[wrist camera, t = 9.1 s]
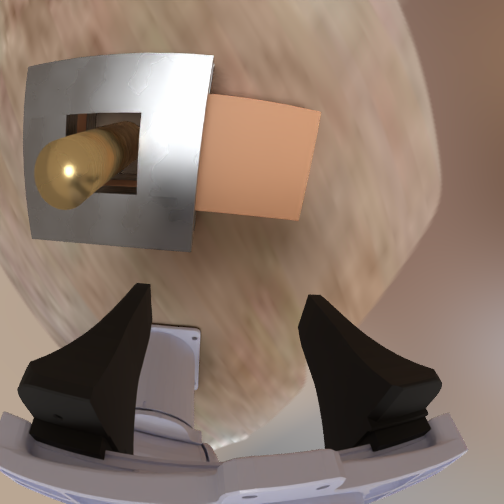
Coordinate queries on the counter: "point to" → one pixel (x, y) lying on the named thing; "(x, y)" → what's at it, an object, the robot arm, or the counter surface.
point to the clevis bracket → (149, 154)
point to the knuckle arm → (251, 157)
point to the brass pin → (84, 163)
